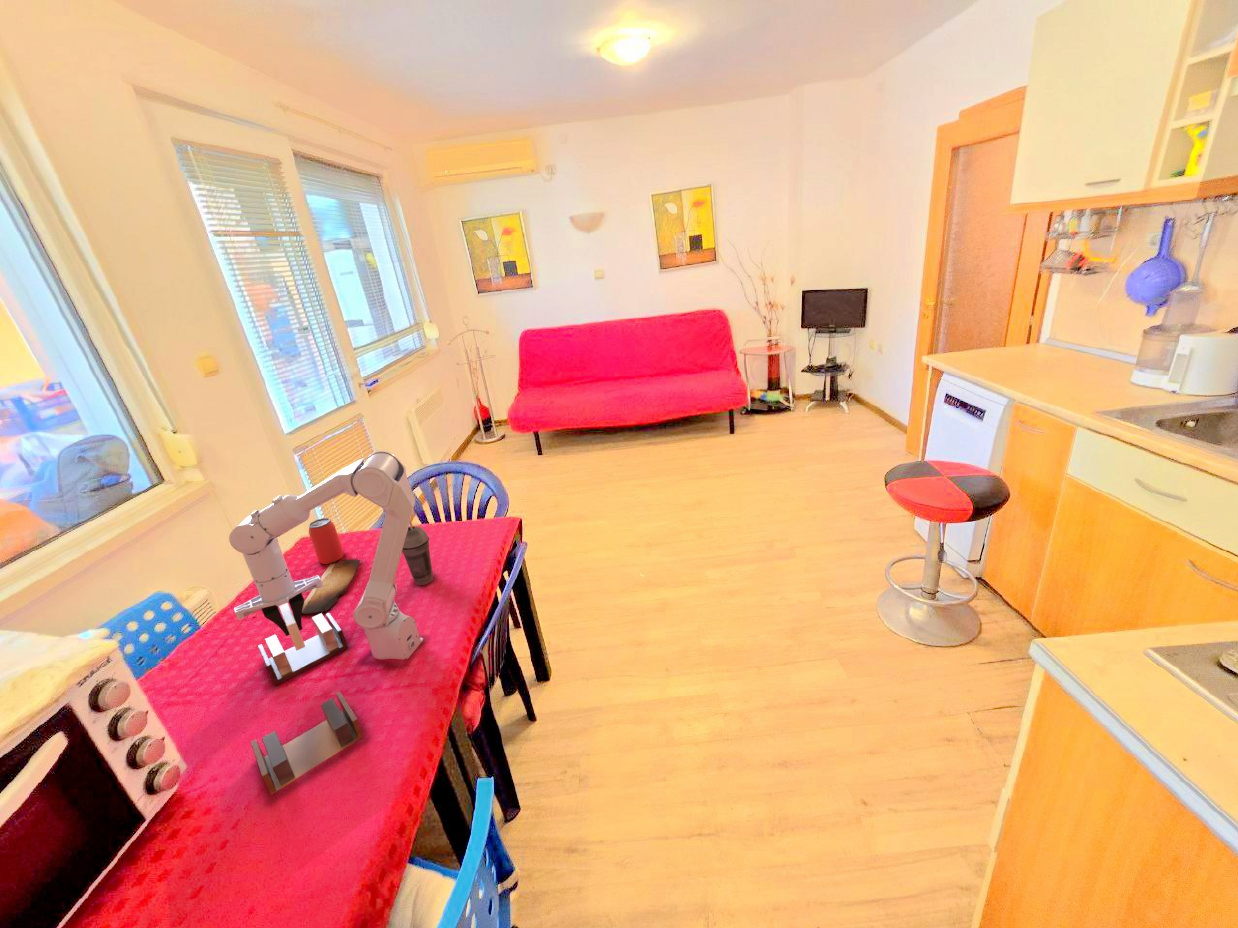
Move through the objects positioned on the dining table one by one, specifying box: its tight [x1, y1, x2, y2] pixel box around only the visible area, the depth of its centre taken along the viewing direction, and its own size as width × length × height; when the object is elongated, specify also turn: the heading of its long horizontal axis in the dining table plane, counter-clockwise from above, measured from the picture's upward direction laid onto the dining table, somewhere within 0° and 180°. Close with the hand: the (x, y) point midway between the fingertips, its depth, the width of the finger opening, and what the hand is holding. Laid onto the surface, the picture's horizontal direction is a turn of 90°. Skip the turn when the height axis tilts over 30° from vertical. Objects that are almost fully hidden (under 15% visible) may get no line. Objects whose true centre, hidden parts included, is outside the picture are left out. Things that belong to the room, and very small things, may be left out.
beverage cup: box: [401, 519, 434, 586], centre depth 129 cm, size 7×7×20 cm
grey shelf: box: [250, 691, 364, 796], centre depth 85 cm, size 14×9×5 cm, turn 135°
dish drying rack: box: [257, 612, 349, 686], centre depth 107 cm, size 14×9×6 cm, turn 134°
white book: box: [278, 602, 305, 651], centre depth 102 cm, size 2×9×6 cm, turn 41°
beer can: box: [308, 517, 344, 565], centre depth 145 cm, size 7×7×12 cm
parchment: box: [302, 558, 361, 615], centre depth 133 cm, size 25×10×1 cm, turn 8°
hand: (293, 630), depth 102 cm, fingers closed on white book, 2 cm apart
